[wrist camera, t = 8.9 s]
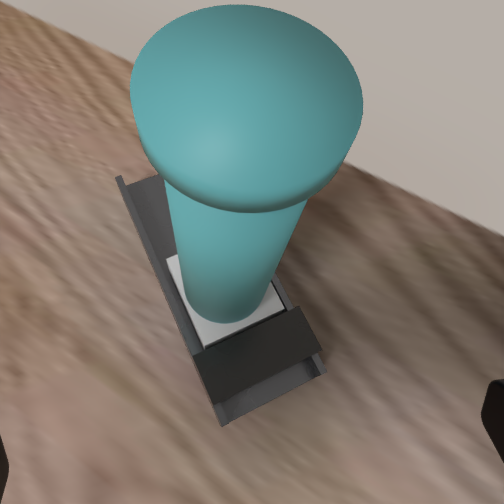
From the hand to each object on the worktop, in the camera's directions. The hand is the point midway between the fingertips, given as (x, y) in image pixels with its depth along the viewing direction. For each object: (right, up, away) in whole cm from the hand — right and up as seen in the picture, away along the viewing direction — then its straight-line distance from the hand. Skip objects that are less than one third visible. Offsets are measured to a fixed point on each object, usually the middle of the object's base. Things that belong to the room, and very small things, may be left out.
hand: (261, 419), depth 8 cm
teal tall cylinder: (-1, +1, +11) cm, 12 cm away
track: (-2, +2, +13) cm, 13 cm away
